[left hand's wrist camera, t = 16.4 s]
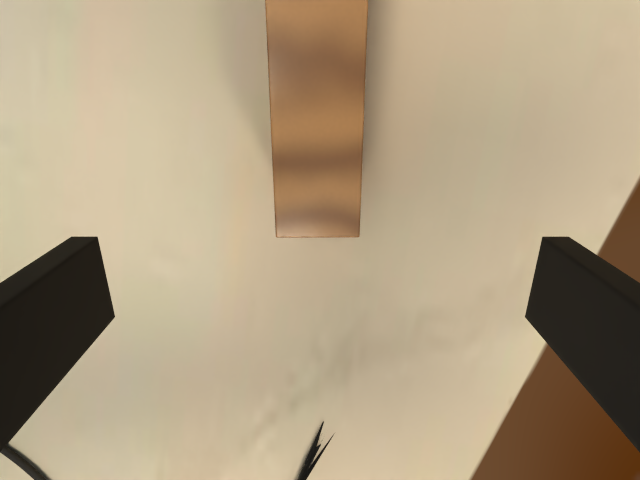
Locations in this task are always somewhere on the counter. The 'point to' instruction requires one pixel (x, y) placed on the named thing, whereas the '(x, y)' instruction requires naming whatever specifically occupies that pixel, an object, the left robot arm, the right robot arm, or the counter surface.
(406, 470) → the counter surface
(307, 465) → the feather
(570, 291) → the left robot arm
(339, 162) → the post
